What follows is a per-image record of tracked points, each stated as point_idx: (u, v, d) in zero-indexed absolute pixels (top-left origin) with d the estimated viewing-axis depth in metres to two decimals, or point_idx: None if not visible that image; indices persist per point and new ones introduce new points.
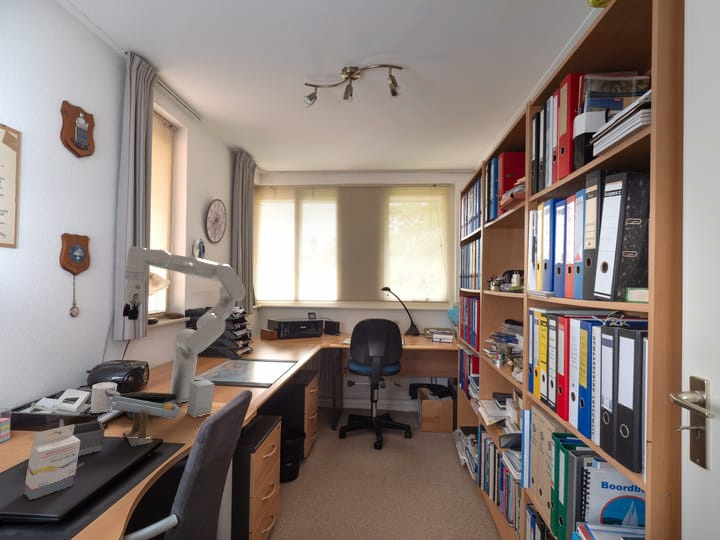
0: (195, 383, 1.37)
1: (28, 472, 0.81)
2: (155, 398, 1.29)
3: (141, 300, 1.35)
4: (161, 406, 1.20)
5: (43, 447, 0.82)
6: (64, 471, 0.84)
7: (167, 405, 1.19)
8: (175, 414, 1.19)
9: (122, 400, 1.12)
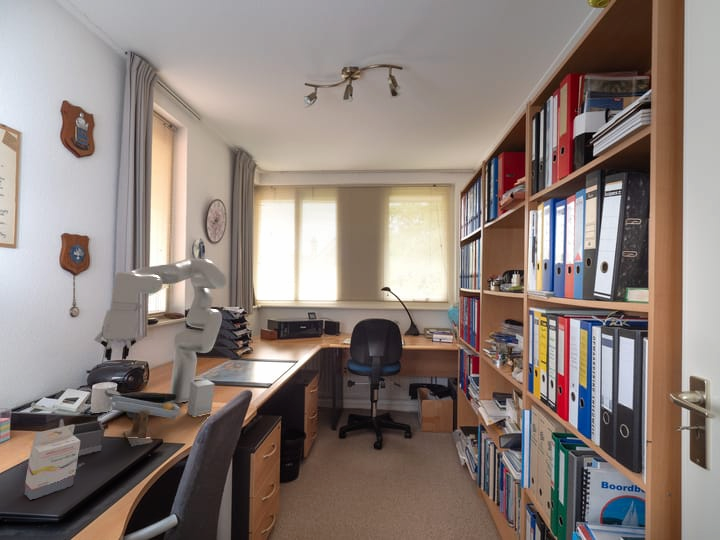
0: (195, 383, 1.37)
1: (28, 472, 0.81)
2: (155, 398, 1.29)
3: None
4: (161, 406, 1.20)
5: (43, 447, 0.82)
6: (64, 471, 0.84)
7: (167, 405, 1.19)
8: (175, 414, 1.19)
9: (122, 400, 1.12)
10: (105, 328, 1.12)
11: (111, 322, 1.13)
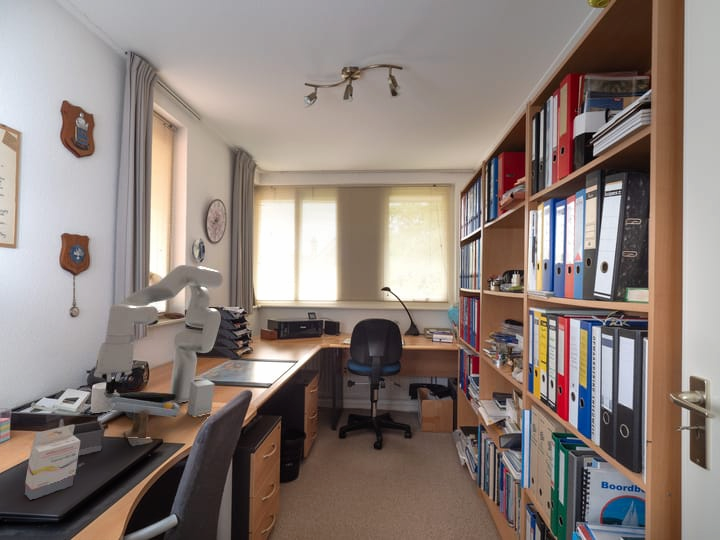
0: (195, 383, 1.37)
1: (28, 472, 0.81)
2: (153, 398, 1.29)
3: None
4: (161, 405, 1.20)
5: (43, 447, 0.82)
6: (64, 471, 0.84)
7: (167, 404, 1.19)
8: (175, 413, 1.19)
9: (121, 401, 1.12)
10: (99, 362, 1.12)
11: (105, 356, 1.13)
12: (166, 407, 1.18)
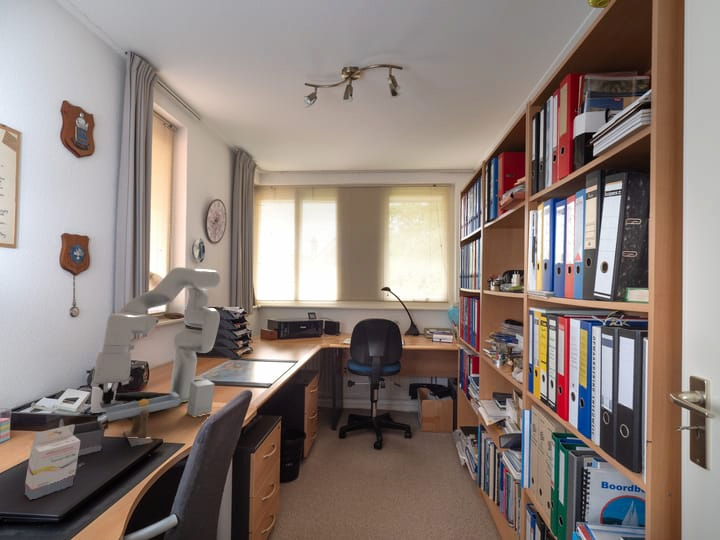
0: (195, 383, 1.37)
1: (28, 472, 0.81)
2: None
3: None
4: (161, 398, 1.20)
5: (43, 447, 0.82)
6: (64, 471, 0.84)
7: (146, 400, 1.14)
8: (176, 402, 1.19)
9: (117, 408, 1.11)
10: (96, 372, 1.11)
11: (103, 365, 1.12)
12: (143, 402, 1.13)
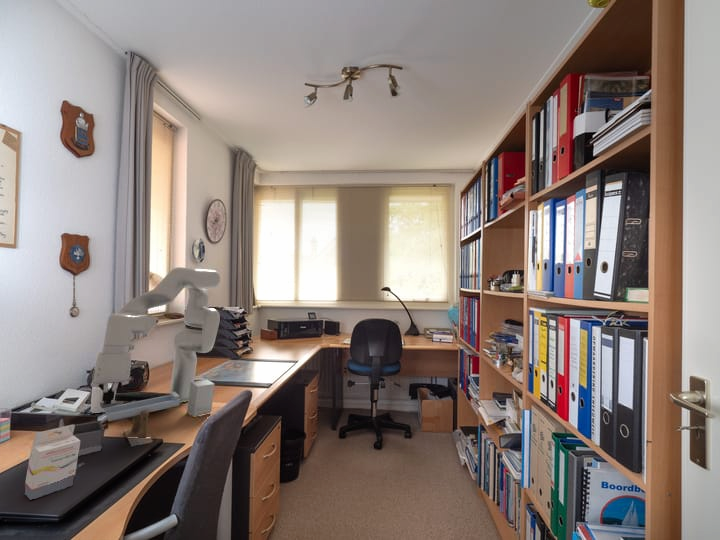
0: (195, 383, 1.37)
1: (28, 472, 0.81)
2: None
3: None
4: (161, 398, 1.20)
5: (43, 447, 0.82)
6: (64, 471, 0.84)
7: None
8: (176, 402, 1.19)
9: (117, 408, 1.11)
10: (96, 372, 1.11)
11: (103, 365, 1.12)
12: None
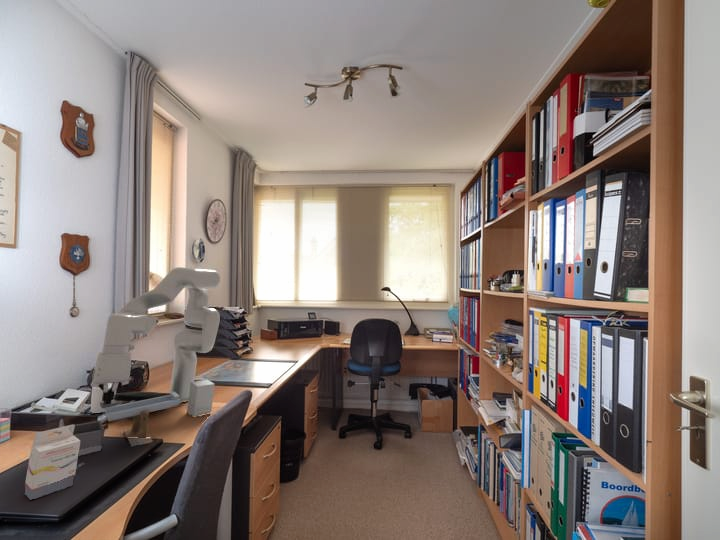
0: (195, 383, 1.37)
1: (28, 472, 0.81)
2: None
3: None
4: (161, 398, 1.20)
5: (43, 447, 0.82)
6: (64, 471, 0.84)
7: None
8: (176, 402, 1.19)
9: (117, 408, 1.11)
10: (96, 372, 1.11)
11: (103, 365, 1.12)
12: None
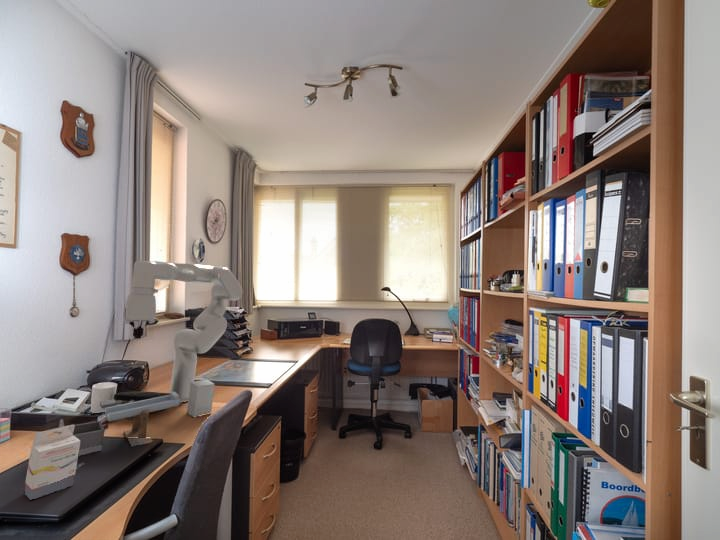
0: (195, 383, 1.37)
1: (28, 472, 0.81)
2: None
3: None
4: (161, 398, 1.20)
5: (43, 447, 0.82)
6: (64, 471, 0.84)
7: None
8: (176, 402, 1.19)
9: (117, 408, 1.11)
10: (127, 310, 1.27)
11: (132, 305, 1.27)
12: None
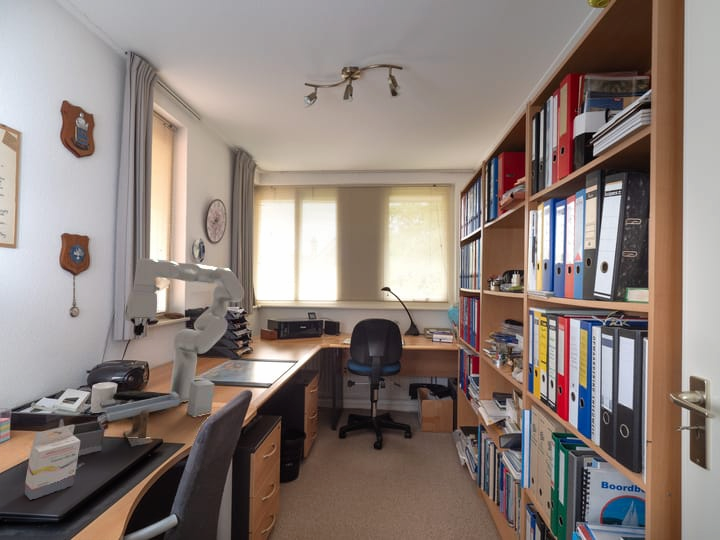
0: (195, 383, 1.37)
1: (28, 472, 0.81)
2: (149, 397, 1.29)
3: None
4: (161, 398, 1.20)
5: (43, 447, 0.82)
6: (64, 471, 0.84)
7: None
8: (176, 402, 1.19)
9: (117, 408, 1.11)
10: (129, 307, 1.28)
11: (134, 302, 1.29)
12: None
